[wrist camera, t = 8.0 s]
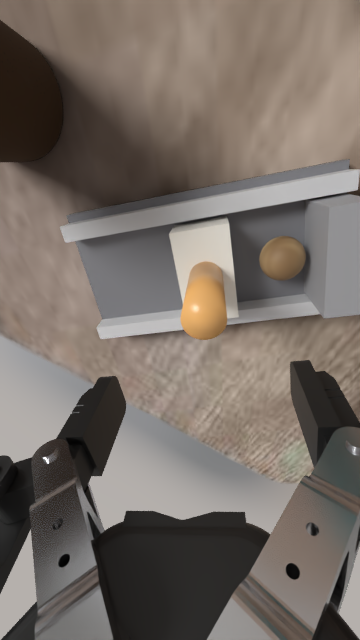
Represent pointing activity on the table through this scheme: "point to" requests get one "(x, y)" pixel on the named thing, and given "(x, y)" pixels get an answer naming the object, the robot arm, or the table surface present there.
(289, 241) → the walnut
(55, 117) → the olive oil
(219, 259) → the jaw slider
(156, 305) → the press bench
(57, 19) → the table surface
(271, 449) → the table surface
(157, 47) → the table surface
